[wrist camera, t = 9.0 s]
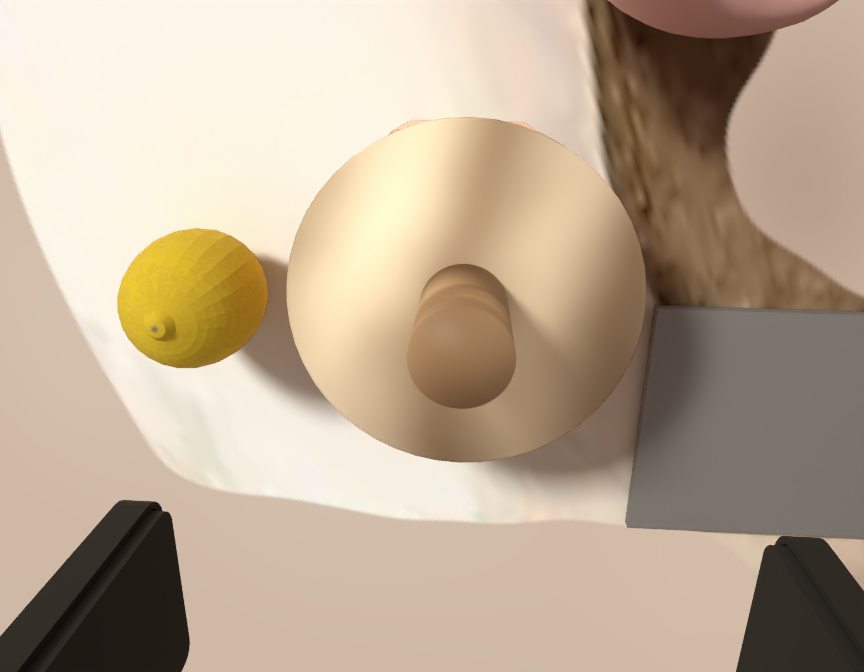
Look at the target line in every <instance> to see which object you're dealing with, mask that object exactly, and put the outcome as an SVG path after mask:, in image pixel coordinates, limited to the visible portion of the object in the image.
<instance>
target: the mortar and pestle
mask: <svg viewBox="0 0 864 672" xmlns="http://www.w3.org/2000/svg"><path fill="white" fill-rule="evenodd" d="M608 1H609V2H611V3H612V4H613V5H614V6H616V7H617V8H618V9H620V10H621V11H622V12H624V13H626V14H628V15H629V16H631V17H633V18H635V19H637V20H639V21H641V22H642V23H644V24H647V25H649V26H651V27H654V28H657V29H660V30H663V31H666V32H669V33H672V34H677V35H683V36H689V37H694V38H720V39H722V38H731V37H741V36H750V35H755V34H761V33H765V32H770V31H774V30H777V29H781V28H784V27H787V26H790V25H794V24H797V23H800V22H803V21H805V20H807V19H809V18H811V17H813V16H815V15H816V14H819V13H820V12H822V11H824V10H825V9H827V8H828V7H830V6H831V5H832V4H834V3H835V2H837V1H838V0H608Z"/></svg>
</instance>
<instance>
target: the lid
mask: <svg viewBox="0 0 864 672" xmlns="http://www.w3.org/2000/svg"><path fill="white" fill-rule="evenodd" d="M646 292H647V288H646V275H645V265H644V260H643V256H642V251H641V247H640V243H639V240H638V238H637V235H636V232H635V230H634V227H633V224H632V222H631V220H630V218H629V216H628V214H627V213H626V211H625V209H624V207H623V205H622V203H621V202H620V200H619V199H618V197H617V196H616V195H615V193H614V192H613V191H612V189H611V188H610V187H609V185H608V184H607V183H606V181H605V180H604V179H603V178H602V177H601V176H600V175H599V174H598V173H597V172H596V171H595V170H594V169H593V168H592V167H591V166H590V165H589V164H588V163H587V162H585V161H584V160H583V159H581V158H580V157H579V156H577V155H576V154H575V153H573V152H572V151H571V150H569V149H568V148H566V147H565V146H564V145H562V144H560V143H558V142H556V141H554V140H553V139H551V138H549V137H547V136H545V135H544V134H542V133H539V132H536V131H534V130H531V129H529V128H526V127H523V126H521V125H517V124H513V123H509V122H504V121H500V120H496V119H486V118H474V117H463V118H445V119H439V120H434V121H429V122H423V123H419V124H416V125H413V126H410V127H407V128H404V129H402V130H399V131H396V132H394V133H392V134H390V135H388V136H386V137H384V138H382V139H380V140H378V141H376V142H374V143H373V144H371V145H370V146H368V147H367V148H365V149H364V150H362V151H361V152H360V153H358V154H357V155H355V156H354V157H352V158H351V159H350V160H349V161H348V162H347V163H345V164H344V165H343V166H342V167H341V168H340V169H339V170H338V171H337V172H336V173H334V174H333V175H332V177H331V178H330V179H329V180H328V182H327V183H326V184H325V185H324V186H323V188H322V189H321V190H320V191H319V192H318V194H317V195H316V197H315V199H314V200H313V202H312V203H311V205H310V207H309V208H308V210H307V211H306V213H305V215H304V218H303V220H302V222H301V224H300V227H299V229H298V231H297V233H296V236H295V240H294V243H293V247H292V250H291V254H290V258H289V265H288V273H287V308H288V316H289V323H290V327H291V330H292V334H293V338H294V341H295V345H296V347H297V349H298V352H299V354H300V357H301V359H302V361H303V364H304V366H305V367H306V369H307V371H308V373H309V374H310V376H311V378H312V379H313V381H314V383H315V384H316V385H317V387H318V388H319V389H320V391H321V392H322V393H323V395H324V396H325V397H326V399H327V400H328V401H329V402H330V403H331V404H332V405H333V406H334V407H335V408H336V409H337V410H338V411H339V412H340V413H341V414H342V415H343V416H344V417H345V418H347V419H348V420H349V421H350V422H352V423H353V424H354V425H355V426H356V427H358V428H359V429H361V430H362V431H364V432H365V433H367V434H369V435H370V436H372V437H373V438H375V439H377V440H379V441H381V442H383V443H385V444H387V445H389V446H391V447H393V448H395V449H398V450H401V451H404V452H407V453H410V454H413V455H416V456H420V457H425V458H429V459H434V460H441V461H451V462H484V461H492V460H499V459H504V458H508V457H512V456H516V455H520V454H524V453H526V452H529V451H532V450H534V449H537V448H540V447H542V446H544V445H546V444H548V443H550V442H552V441H554V440H556V439H558V438H560V437H562V436H563V435H565V434H566V433H568V432H569V431H571V430H572V429H574V428H575V427H577V426H578V425H579V424H581V423H582V422H583V421H584V420H585V419H586V418H588V417H589V416H590V415H591V414H592V413H593V412H594V411H596V410H597V408H598V407H599V406H600V405H601V404H602V403H603V402H604V401H605V399H606V398H607V397H608V396H609V395H610V394H611V392H612V391H613V390H614V388H615V387H616V385H617V384H618V382H619V381H620V379H621V378H622V376H623V375H624V373H625V371H626V369H627V367H628V365H629V363H630V361H631V359H632V357H633V355H634V352H635V349H636V346H637V344H638V341H639V338H640V335H641V330H642V326H643V321H644V316H645V307H646Z"/></svg>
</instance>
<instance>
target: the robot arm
mask: <svg viewBox="0 0 864 672" xmlns="http://www.w3.org/2000/svg"><path fill="white" fill-rule="evenodd" d="M189 645H190V642H189V632H188V626H187V619H186V612H185V606H184V599H183V591H182V585H181V578H180V571H179V564H178V557H177V551H176V544H175V537H174V530H173V523H172V518H171V515H170V513H168V512H164V511H162V508H161V506H160V505H159V503H157V502H150V501H132V500H122V501H119V502H118V503H117V504H115V505H114V506H113V508H112V509H111V510H110V511H109V512H108V513H107V514H106V516H105V517H104V518H103V519H102V520H101V521H100V523H99V524H98V525H97V526H96V527H95V528H94V529H93V531H92V532H91V533H90V534H89V535H88V536H87V537H86V539H85V540H84V541H83V542H82V543H81V544H80V546H79V547H78V548H77V549H76V550H75V551H74V552H73V554H72V555H71V556H70V557H69V558H68V559H67V560H66V562H65V563H64V564H63V565H62V566H61V567H60V568H59V570H58V571H57V572H56V573H55V574H54V575H53V576H52V578H51V579H50V580H49V581H48V582H47V583H46V584H45V586H44V587H43V588H42V589H41V590H40V591H39V592H38V594H37V595H36V596H35V597H34V598H33V599H32V601H31V602H30V603H29V604H28V605H27V606H26V607H25V609H24V610H23V611H22V612H21V613H20V614H19V616H18V617H17V618H16V619H15V620H14V621H13V622H12V624H11V625H10V626H9V627H8V628H7V629H6V630H5V632H4V633H3V634H2V635H1V636H0V672H181V671H182V669H183V667H184V665H185V663H186V660H187V657H188V652H189ZM736 672H864V591H863V590H862V588H861V587H860V586H859V584H858V583H857V582H856V580H855V579H854V578H853V576H852V575H851V574H850V572H849V571H848V570H847V568H846V567H845V566H844V564H843V563H842V562H841V560H840V559H839V558H838V556H837V555H836V554H835V552H834V551H833V550H832V548H831V547H830V546H829V544H828V543H827V542H826V541H825V540H824V539H821V538H811V537H793V536H782V537H779V539H778V540H777V541H776V544H775V545H768V546H767V547H766V548H765V550H764V553H763V557H762V561H761V566H760V570H759V574H758V579H757V583H756V588H755V592H754V596H753V600H752V605H751V609H750V613H749V618H748V622H747V627H746V631H745V635H744V640H743V644H742V648H741V652H740V657H739V661H738V666H737V670H736Z"/></svg>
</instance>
